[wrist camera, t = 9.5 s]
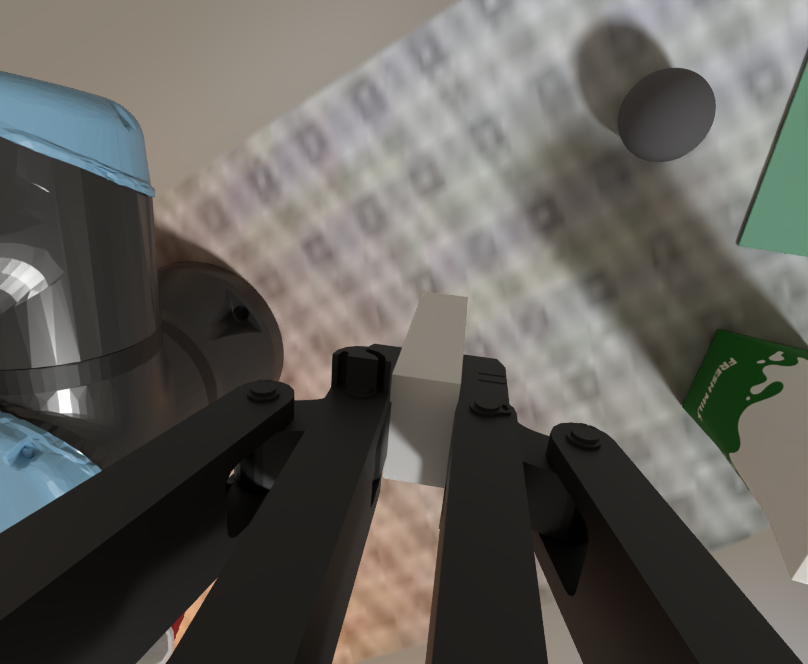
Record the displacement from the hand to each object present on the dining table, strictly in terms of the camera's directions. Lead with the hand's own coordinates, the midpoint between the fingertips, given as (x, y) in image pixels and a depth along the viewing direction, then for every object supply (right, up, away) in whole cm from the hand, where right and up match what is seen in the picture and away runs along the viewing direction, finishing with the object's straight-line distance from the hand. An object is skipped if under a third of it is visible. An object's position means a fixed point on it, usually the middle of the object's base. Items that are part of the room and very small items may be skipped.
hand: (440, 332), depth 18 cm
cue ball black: (+15, +14, +15) cm, 26 cm away
